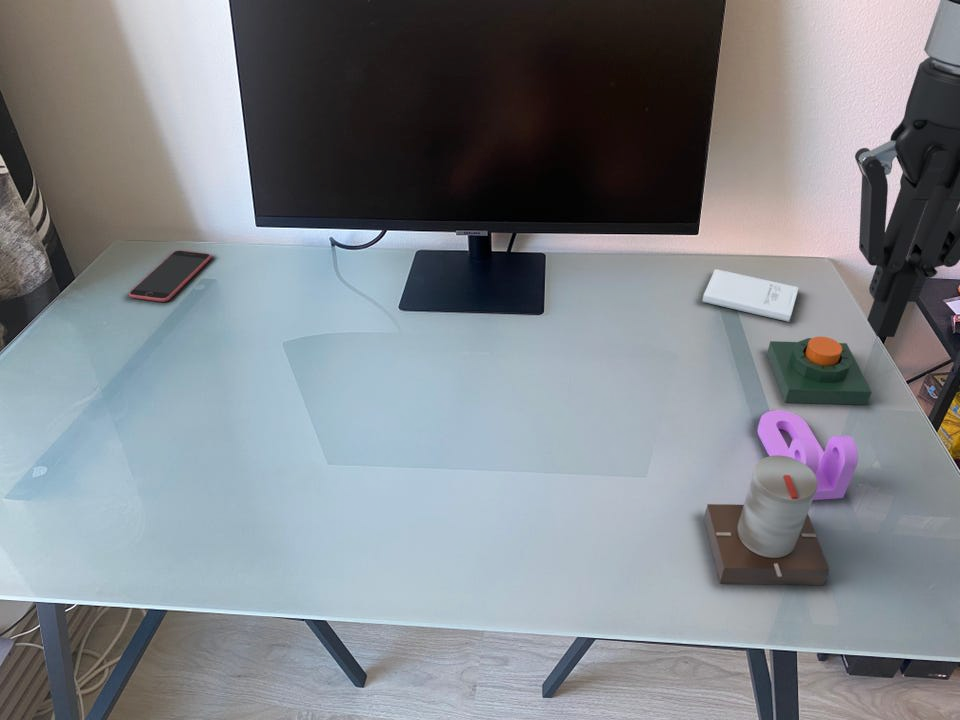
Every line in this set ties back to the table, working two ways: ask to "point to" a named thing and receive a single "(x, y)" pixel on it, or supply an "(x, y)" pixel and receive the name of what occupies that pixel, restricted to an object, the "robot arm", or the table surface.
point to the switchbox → (817, 376)
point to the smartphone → (170, 276)
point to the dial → (776, 505)
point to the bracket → (811, 452)
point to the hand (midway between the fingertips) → (880, 328)
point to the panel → (755, 569)
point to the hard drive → (751, 295)
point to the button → (823, 351)
